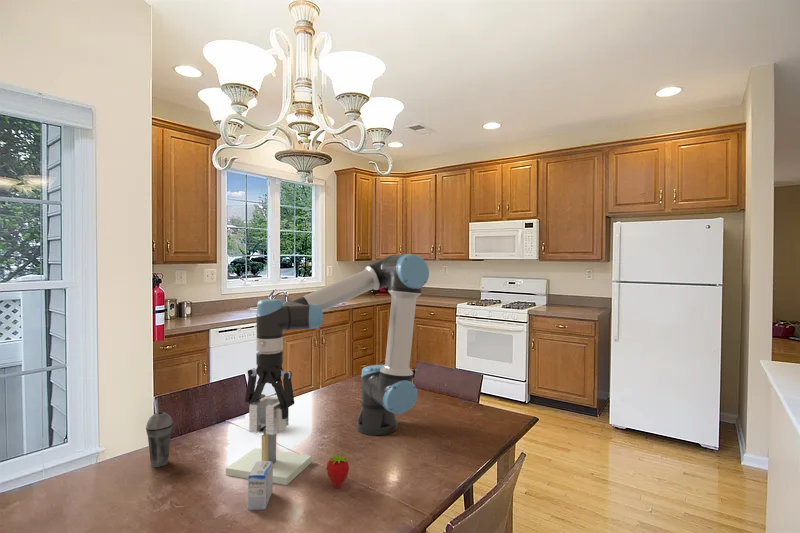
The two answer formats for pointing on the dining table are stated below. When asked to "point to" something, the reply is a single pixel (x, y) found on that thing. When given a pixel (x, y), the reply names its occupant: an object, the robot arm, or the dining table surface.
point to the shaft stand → (283, 462)
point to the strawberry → (337, 470)
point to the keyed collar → (265, 415)
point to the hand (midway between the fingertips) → (269, 427)
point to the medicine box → (260, 485)
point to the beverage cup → (159, 437)
